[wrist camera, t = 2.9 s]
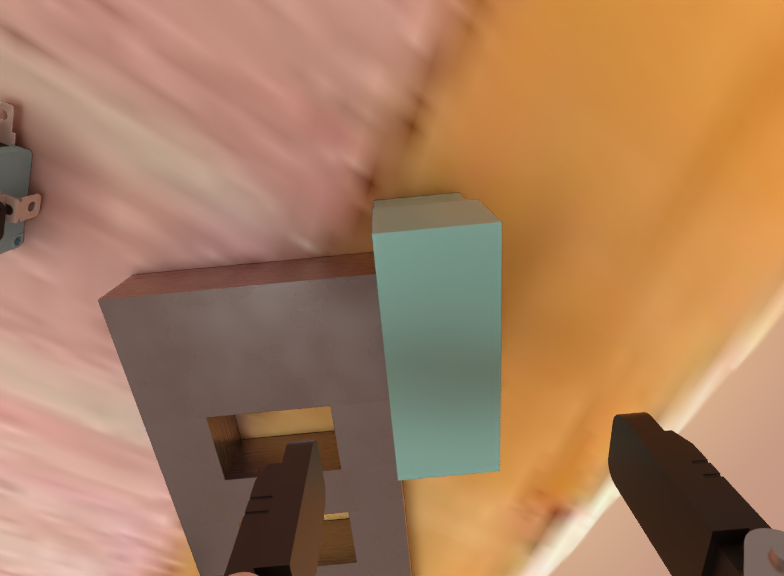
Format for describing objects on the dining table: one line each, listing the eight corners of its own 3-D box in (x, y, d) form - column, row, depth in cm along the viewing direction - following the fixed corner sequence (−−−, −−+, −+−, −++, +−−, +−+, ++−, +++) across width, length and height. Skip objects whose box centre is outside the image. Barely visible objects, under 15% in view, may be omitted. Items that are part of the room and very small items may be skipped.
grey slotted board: (133, 274, 22) (97, 300, 19) (379, 251, 22) (379, 273, 19) (239, 597, 31) (226, 646, 28) (412, 581, 31) (416, 628, 28)
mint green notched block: (372, 189, 21) (371, 234, 14) (459, 181, 21) (501, 221, 14) (391, 373, 25) (398, 480, 18) (464, 366, 25) (499, 471, 18)
